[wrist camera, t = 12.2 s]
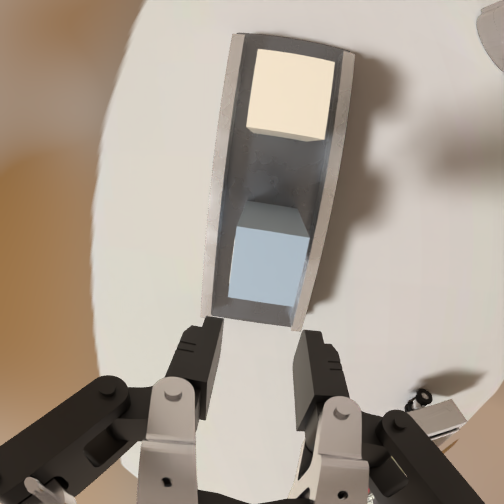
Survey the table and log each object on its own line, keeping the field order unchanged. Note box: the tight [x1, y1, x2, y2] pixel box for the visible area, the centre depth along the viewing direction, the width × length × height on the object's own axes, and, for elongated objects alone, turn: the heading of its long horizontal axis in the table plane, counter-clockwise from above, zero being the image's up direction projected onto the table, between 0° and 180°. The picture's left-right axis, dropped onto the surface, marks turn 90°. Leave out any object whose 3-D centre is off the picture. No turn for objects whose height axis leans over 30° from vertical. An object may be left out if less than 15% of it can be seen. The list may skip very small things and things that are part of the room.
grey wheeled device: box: [405, 389, 467, 440], centre depth 32 cm, size 4×10×15 cm
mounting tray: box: [201, 33, 355, 332], centre depth 24 cm, size 28×10×4 cm, turn 172°
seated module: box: [246, 49, 335, 142], centre depth 17 cm, size 5×5×8 cm
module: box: [228, 201, 310, 307], centre depth 22 cm, size 5×5×8 cm
